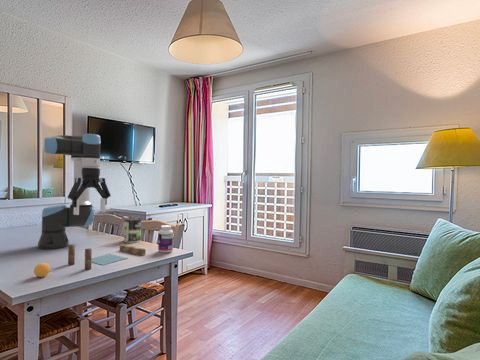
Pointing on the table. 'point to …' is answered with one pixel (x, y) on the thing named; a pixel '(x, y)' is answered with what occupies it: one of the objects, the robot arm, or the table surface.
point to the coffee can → (132, 230)
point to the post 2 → (88, 258)
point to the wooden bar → (132, 249)
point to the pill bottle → (165, 239)
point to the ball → (41, 270)
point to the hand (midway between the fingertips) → (90, 213)
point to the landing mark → (107, 259)
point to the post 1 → (71, 254)
